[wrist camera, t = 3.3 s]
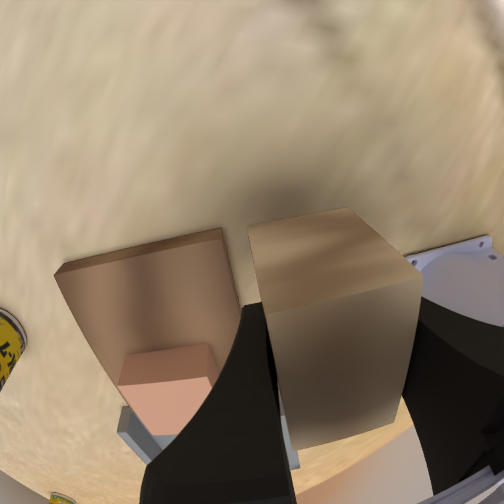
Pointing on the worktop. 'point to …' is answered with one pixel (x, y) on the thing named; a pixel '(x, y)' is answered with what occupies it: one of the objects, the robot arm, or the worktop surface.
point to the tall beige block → (335, 322)
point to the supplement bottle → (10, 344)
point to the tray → (151, 445)
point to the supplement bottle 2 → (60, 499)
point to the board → (154, 299)
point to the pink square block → (168, 386)
